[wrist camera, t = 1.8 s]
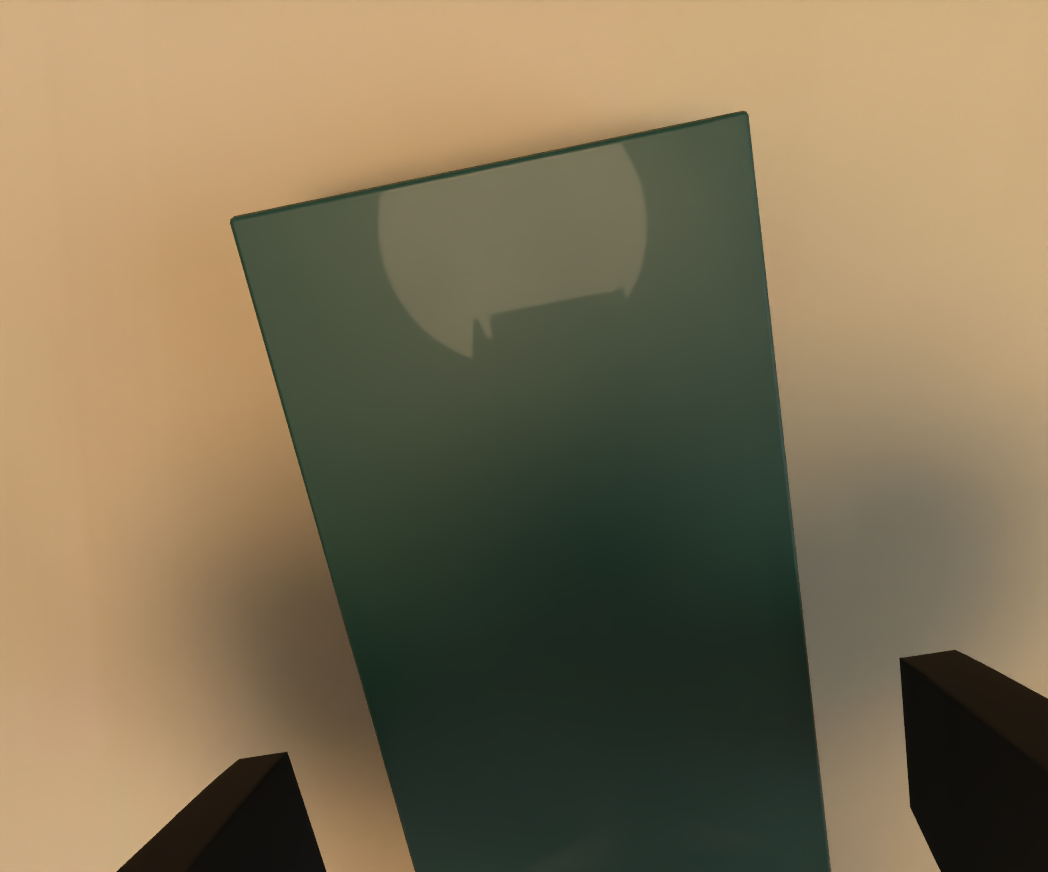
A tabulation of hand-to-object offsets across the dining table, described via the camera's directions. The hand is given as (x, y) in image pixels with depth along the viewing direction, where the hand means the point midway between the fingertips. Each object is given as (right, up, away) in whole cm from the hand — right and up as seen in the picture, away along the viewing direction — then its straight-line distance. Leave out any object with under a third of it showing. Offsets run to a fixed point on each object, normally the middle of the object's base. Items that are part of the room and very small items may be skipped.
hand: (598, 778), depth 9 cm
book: (0, +1, +3) cm, 4 cm away
